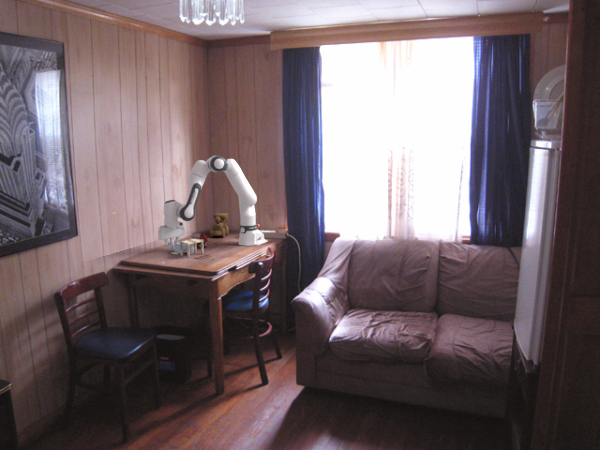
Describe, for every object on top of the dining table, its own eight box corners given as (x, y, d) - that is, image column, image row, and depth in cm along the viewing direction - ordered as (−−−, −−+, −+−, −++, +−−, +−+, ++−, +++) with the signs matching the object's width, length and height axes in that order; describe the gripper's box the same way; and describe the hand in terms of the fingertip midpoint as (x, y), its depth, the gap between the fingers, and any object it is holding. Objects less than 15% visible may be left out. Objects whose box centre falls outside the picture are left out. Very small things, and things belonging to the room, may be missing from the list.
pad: (182, 250, 342) (182, 250, 342) (188, 251, 338) (188, 251, 338) (170, 253, 334) (170, 252, 334) (176, 254, 330) (176, 254, 330)
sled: (174, 248, 343) (174, 237, 342) (197, 253, 330) (196, 241, 329) (167, 250, 339) (166, 239, 337) (190, 255, 325) (189, 243, 324)
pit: (205, 255, 328) (205, 254, 328) (212, 256, 325) (212, 255, 325) (194, 258, 320) (194, 257, 320) (200, 259, 317) (200, 258, 317)
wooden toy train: (216, 233, 402) (215, 212, 399) (230, 233, 400) (229, 213, 397) (209, 238, 382) (208, 216, 379) (223, 238, 381) (223, 217, 378)
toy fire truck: (205, 249, 346) (204, 234, 344) (190, 247, 350) (189, 233, 349) (210, 247, 352) (210, 232, 350) (195, 245, 357) (195, 231, 355)
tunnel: (195, 252, 336) (195, 238, 334) (203, 253, 332) (203, 239, 330) (180, 255, 326) (179, 241, 324) (188, 257, 321) (188, 243, 320)
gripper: (161, 226, 327) (162, 247, 329) (185, 222, 343) (186, 242, 346) (155, 225, 331) (156, 246, 333) (179, 221, 347) (180, 241, 349)
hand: (172, 244), depth 340 cm, fingers open, 6 cm apart
